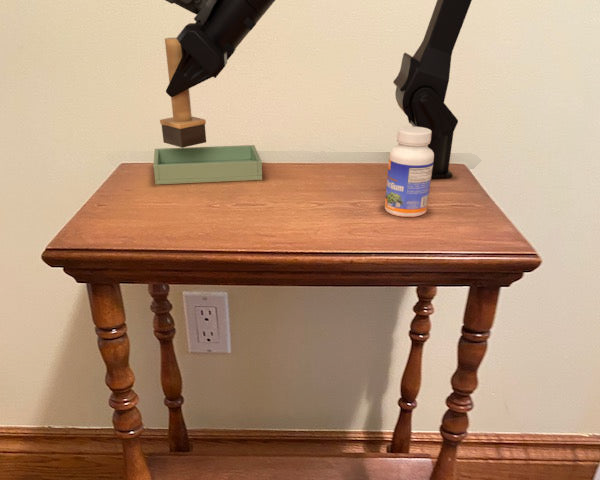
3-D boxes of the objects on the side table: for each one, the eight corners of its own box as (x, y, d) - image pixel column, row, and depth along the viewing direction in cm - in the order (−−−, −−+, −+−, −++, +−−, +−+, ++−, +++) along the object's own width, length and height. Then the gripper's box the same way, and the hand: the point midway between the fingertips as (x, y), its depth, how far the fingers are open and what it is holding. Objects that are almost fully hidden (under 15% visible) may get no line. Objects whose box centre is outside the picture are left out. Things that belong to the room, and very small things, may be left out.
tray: (254, 162, 98) (254, 144, 97) (262, 179, 91) (261, 161, 89) (156, 166, 96) (154, 148, 95) (155, 184, 89) (153, 165, 87)
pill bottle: (377, 206, 81) (383, 126, 75) (413, 202, 83) (422, 123, 77) (396, 220, 77) (404, 136, 71) (435, 215, 78) (446, 132, 73)
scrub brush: (207, 142, 91) (199, 38, 83) (182, 148, 88) (171, 41, 80) (187, 137, 93) (177, 36, 86) (162, 142, 90) (149, 38, 83)
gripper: (206, -56, 85) (136, 38, 91) (186, -59, 69) (105, 54, 76) (265, 12, 89) (196, 97, 96) (260, 24, 74) (177, 124, 80)
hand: (170, 92), depth 87 cm, fingers closed on scrub brush, 2 cm apart
